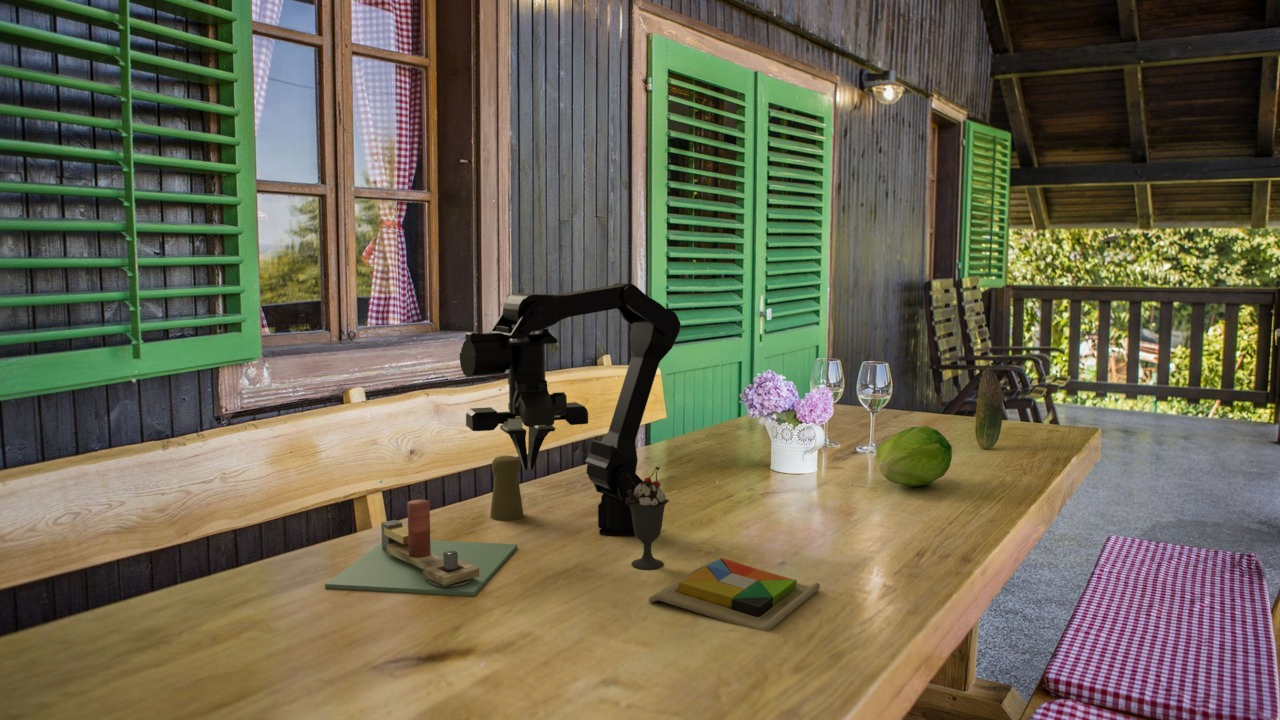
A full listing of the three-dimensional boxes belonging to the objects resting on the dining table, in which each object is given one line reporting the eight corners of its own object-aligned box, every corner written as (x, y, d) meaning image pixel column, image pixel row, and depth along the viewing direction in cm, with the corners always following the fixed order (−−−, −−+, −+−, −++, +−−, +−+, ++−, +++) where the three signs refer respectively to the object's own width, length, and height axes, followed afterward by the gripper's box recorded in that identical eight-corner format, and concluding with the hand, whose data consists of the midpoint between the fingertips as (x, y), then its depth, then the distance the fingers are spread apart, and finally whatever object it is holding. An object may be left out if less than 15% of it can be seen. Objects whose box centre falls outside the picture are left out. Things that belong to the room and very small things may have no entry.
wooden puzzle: (772, 637, 118) (773, 610, 117) (644, 607, 128) (644, 583, 127) (822, 594, 132) (823, 570, 132) (704, 571, 142) (704, 548, 142)
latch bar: (479, 576, 135) (478, 513, 134) (444, 585, 131) (443, 521, 130) (411, 546, 148) (409, 490, 147) (377, 554, 144) (375, 496, 143)
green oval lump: (850, 490, 189) (851, 432, 188) (903, 474, 203) (904, 420, 202) (912, 503, 179) (914, 442, 178) (963, 485, 193) (965, 428, 192)
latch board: (517, 547, 152) (517, 544, 152) (474, 596, 130) (473, 592, 130) (388, 541, 155) (388, 538, 155) (324, 588, 133) (324, 583, 133)
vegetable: (971, 445, 234) (974, 366, 232) (997, 446, 234) (1001, 366, 231) (976, 450, 228) (980, 369, 226) (1003, 451, 228) (1007, 369, 225)
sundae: (674, 560, 146) (675, 465, 144) (661, 573, 140) (661, 475, 138) (634, 555, 148) (634, 462, 146) (619, 568, 142) (619, 471, 140)
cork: (517, 521, 167) (516, 460, 166) (485, 519, 168) (484, 459, 167) (527, 512, 173) (527, 453, 172) (496, 510, 174) (496, 452, 173)
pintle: (479, 577, 138) (478, 547, 137) (465, 593, 131) (464, 561, 131) (437, 575, 139) (437, 545, 138) (421, 590, 132) (420, 559, 132)
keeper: (381, 553, 149) (380, 522, 148) (396, 549, 151) (395, 519, 150) (403, 565, 143) (403, 533, 143) (419, 561, 145) (418, 530, 144)
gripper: (479, 382, 138) (481, 486, 139) (599, 376, 144) (599, 475, 146) (464, 373, 148) (466, 470, 150) (577, 368, 155) (577, 461, 156)
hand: (528, 469), depth 150 cm, fingers closed
